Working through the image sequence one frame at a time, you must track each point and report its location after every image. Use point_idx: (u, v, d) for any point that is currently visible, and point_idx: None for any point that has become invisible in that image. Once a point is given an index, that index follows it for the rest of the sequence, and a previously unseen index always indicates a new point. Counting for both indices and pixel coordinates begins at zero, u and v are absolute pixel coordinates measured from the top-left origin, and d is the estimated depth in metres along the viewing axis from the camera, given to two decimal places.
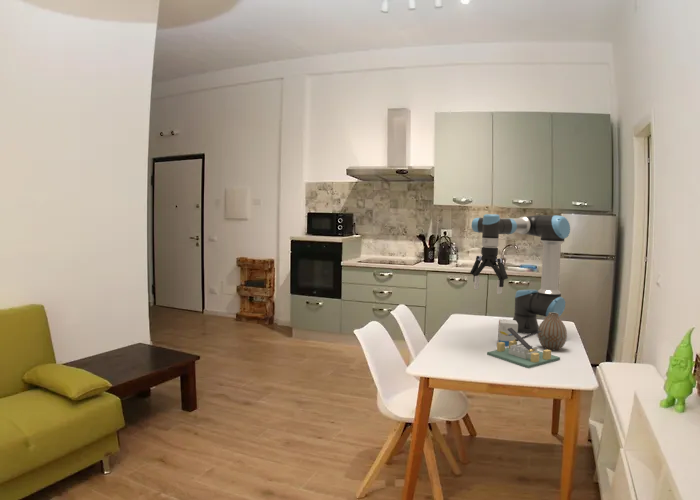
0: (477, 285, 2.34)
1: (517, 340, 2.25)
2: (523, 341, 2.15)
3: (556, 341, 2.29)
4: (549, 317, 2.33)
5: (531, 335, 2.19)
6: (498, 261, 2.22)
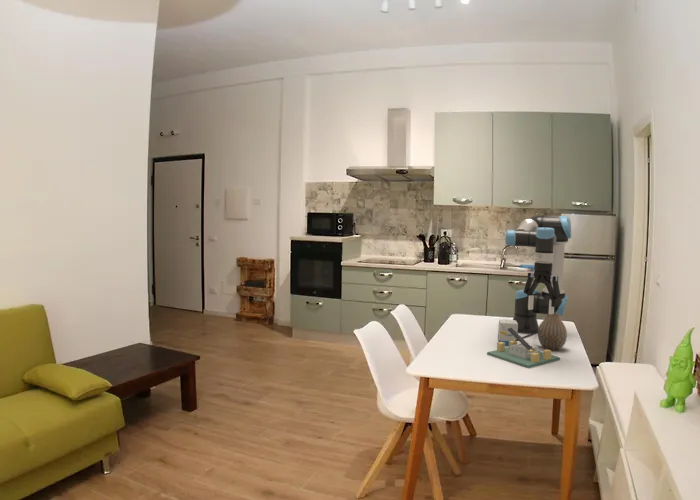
0: (531, 305, 2.20)
1: (517, 340, 2.25)
2: (523, 341, 2.15)
3: (556, 341, 2.29)
4: (549, 317, 2.33)
5: (531, 335, 2.19)
6: (553, 279, 2.09)
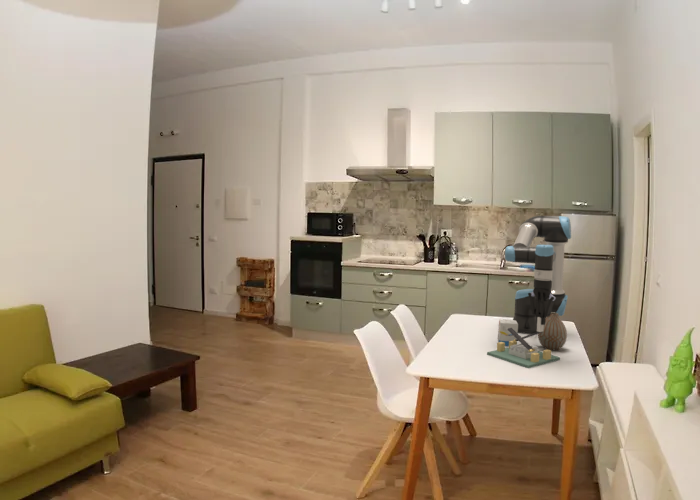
0: None
1: (517, 340, 2.25)
2: (523, 341, 2.15)
3: (556, 341, 2.29)
4: (549, 317, 2.33)
5: (531, 335, 2.19)
6: (551, 299, 2.10)
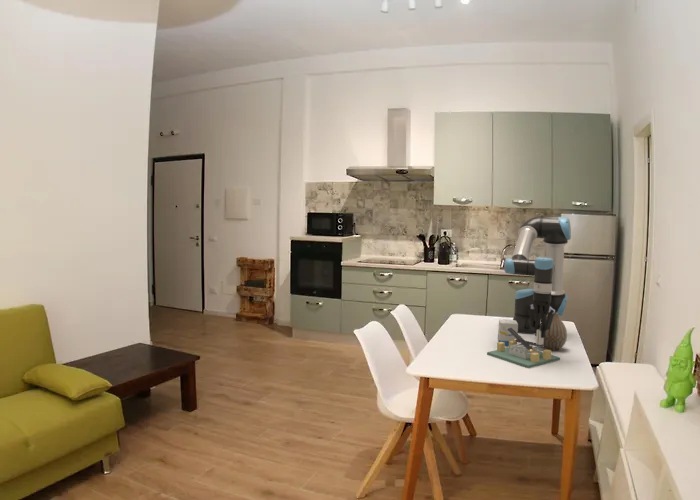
0: None
1: None
2: (523, 341, 2.15)
3: (556, 341, 2.29)
4: None
5: (533, 345, 2.19)
6: (550, 312, 2.11)
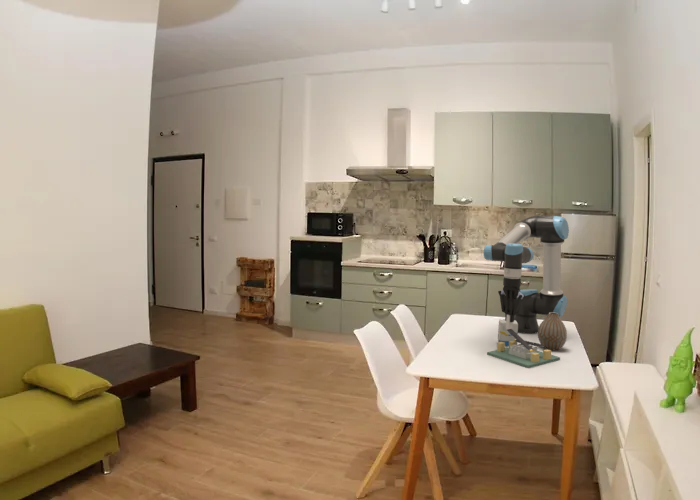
0: None
1: None
2: (522, 341, 2.15)
3: (556, 341, 2.29)
4: (549, 317, 2.33)
5: (533, 345, 2.19)
6: (519, 297, 2.14)
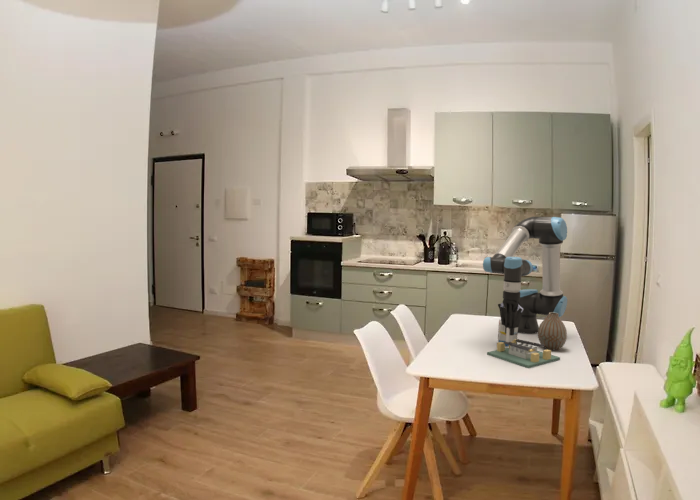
0: None
1: None
2: (521, 346, 2.16)
3: (556, 341, 2.29)
4: (549, 317, 2.33)
5: (533, 345, 2.19)
6: (519, 311, 2.15)
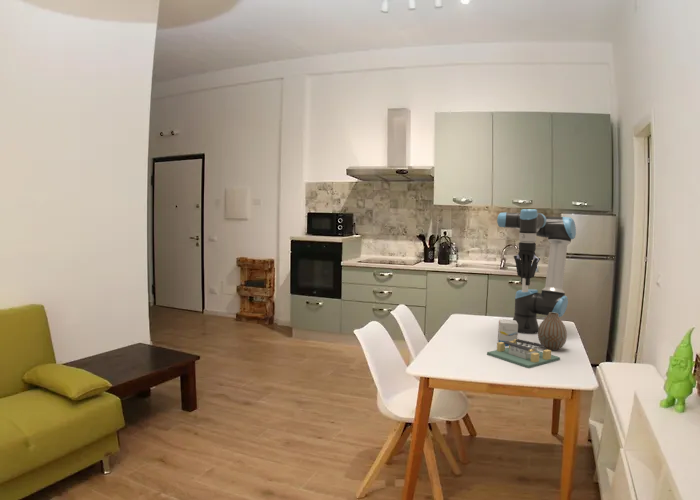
0: None
1: None
2: (521, 346, 2.16)
3: (556, 341, 2.29)
4: (549, 317, 2.33)
5: (533, 345, 2.19)
6: (534, 260, 2.21)
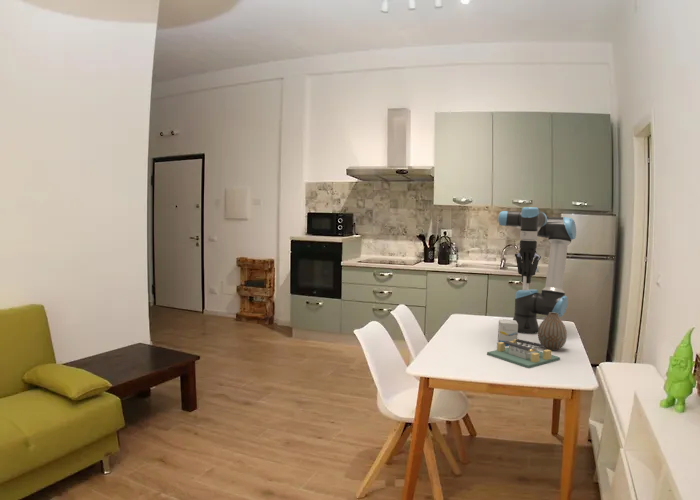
0: None
1: None
2: (521, 346, 2.16)
3: (556, 341, 2.29)
4: (549, 317, 2.33)
5: (533, 345, 2.19)
6: (535, 258, 2.22)
